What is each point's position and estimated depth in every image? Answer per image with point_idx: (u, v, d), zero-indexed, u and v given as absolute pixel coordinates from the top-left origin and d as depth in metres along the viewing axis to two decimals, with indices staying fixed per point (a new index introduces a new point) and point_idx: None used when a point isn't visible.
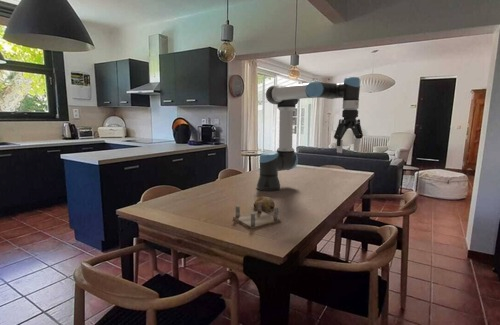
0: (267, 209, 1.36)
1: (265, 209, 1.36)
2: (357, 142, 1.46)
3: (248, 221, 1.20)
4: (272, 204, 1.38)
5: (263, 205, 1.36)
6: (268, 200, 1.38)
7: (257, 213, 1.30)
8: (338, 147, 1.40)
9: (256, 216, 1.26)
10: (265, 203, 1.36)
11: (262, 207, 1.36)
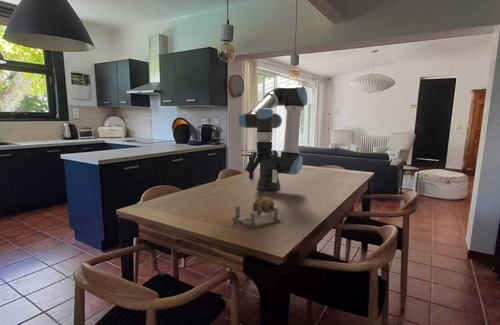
0: (267, 209, 1.36)
1: (265, 209, 1.36)
2: (275, 174, 1.41)
3: (248, 221, 1.20)
4: (272, 204, 1.38)
5: (263, 205, 1.36)
6: (268, 200, 1.38)
7: (257, 213, 1.30)
8: (251, 180, 1.35)
9: (256, 216, 1.26)
10: (264, 203, 1.36)
11: (262, 207, 1.36)
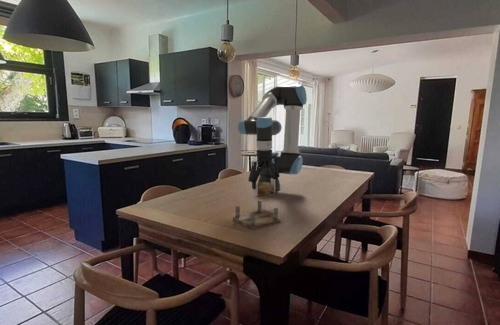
0: (267, 194, 1.36)
1: (265, 194, 1.36)
2: (273, 183, 1.42)
3: (248, 221, 1.20)
4: (272, 189, 1.38)
5: (263, 190, 1.35)
6: (268, 185, 1.37)
7: (257, 213, 1.30)
8: (254, 190, 1.37)
9: (256, 216, 1.26)
10: (264, 188, 1.36)
11: (262, 192, 1.35)
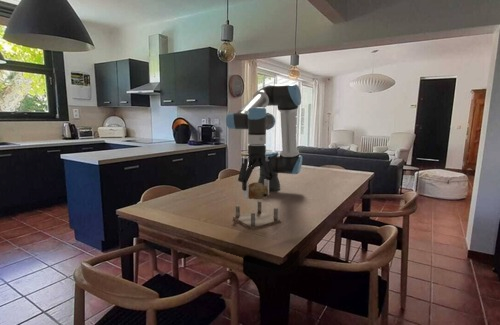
0: (259, 196, 1.17)
1: (257, 196, 1.17)
2: (267, 184, 1.24)
3: (248, 221, 1.20)
4: (265, 191, 1.20)
5: (255, 192, 1.17)
6: (260, 186, 1.19)
7: (257, 213, 1.30)
8: (244, 191, 1.19)
9: (256, 216, 1.26)
10: (256, 189, 1.17)
11: (253, 194, 1.17)
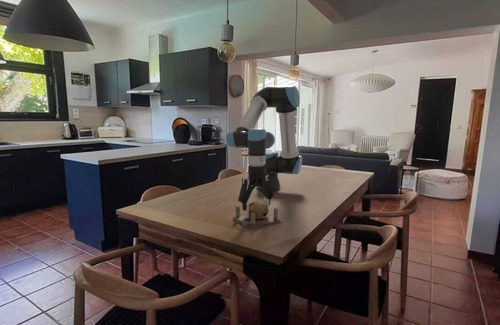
0: (259, 216, 1.19)
1: (257, 216, 1.19)
2: (266, 203, 1.25)
3: (248, 221, 1.20)
4: (265, 210, 1.21)
5: (255, 212, 1.18)
6: (260, 206, 1.21)
7: None
8: (245, 211, 1.20)
9: None
10: (256, 209, 1.19)
11: None
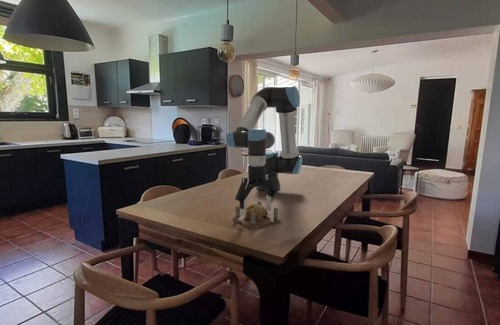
0: (259, 219, 1.19)
1: (257, 219, 1.19)
2: (269, 201, 1.26)
3: (248, 221, 1.20)
4: (265, 213, 1.21)
5: None
6: (260, 208, 1.21)
7: None
8: (242, 209, 1.19)
9: None
10: (256, 212, 1.19)
11: None
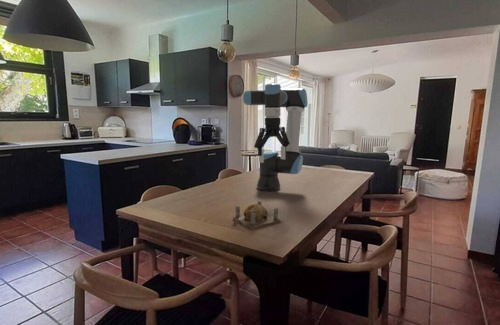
0: (259, 219, 1.19)
1: (256, 219, 1.19)
2: (283, 150, 1.41)
3: (248, 221, 1.20)
4: (265, 213, 1.21)
5: None
6: (260, 208, 1.21)
7: None
8: (260, 157, 1.35)
9: None
10: (256, 212, 1.19)
11: None
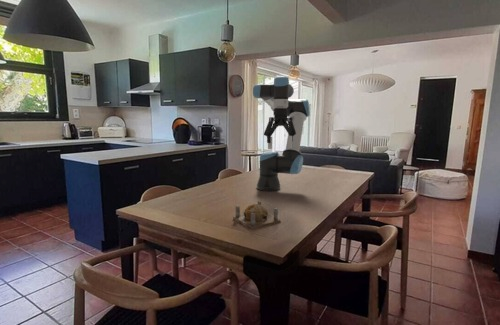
0: (259, 219, 1.19)
1: (256, 219, 1.19)
2: (290, 139, 1.52)
3: (248, 221, 1.20)
4: (265, 213, 1.21)
5: None
6: (260, 208, 1.21)
7: None
8: (269, 144, 1.46)
9: None
10: (256, 212, 1.19)
11: None
